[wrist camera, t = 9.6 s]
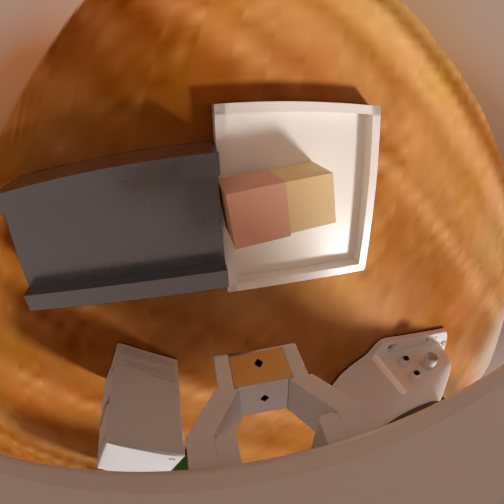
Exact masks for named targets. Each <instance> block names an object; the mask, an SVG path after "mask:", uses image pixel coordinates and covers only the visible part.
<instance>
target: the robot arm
mask: <svg viewBox="0 0 504 504" xmlns="http://www.w3.org/2000/svg"><path fill="white" fill-rule="evenodd" d="M446 342H447V332H446V330H445V329H444V328H441V329H435V330H430V331H424V332H419V333H413V334H407V335H400V336H394V337H387V338H383V339H381V340H379V341H378V342H377V343H376V344H375V345H374V346H373V347H372V348H371V350H370V351H369V352H368V353H367V354H366V355H365V356H363V357H362V358H361V359H359V360H358V361H357V362H355V363H354V364H352V365H351V366H350V367H349V368H348V369H346V370H345V371H344V372H343V373H342V374H341V375H340V376H339V377H338V379H337V380H336V381H335V382H334V384H333V386H331V385H330V384H328V383H327V382H325V381H323V380H322V379H320V378H318V377H317V376H315V375H314V374H308V372H307V370H306V367H305V365H304V363H303V360H302V358H301V356H300V353H299V351H298V349H297V346H296V344H295V343H291V344H286V345H281V346H275V347H270V348H264V349H259V350H254V351H248V352H241V353H233V354H227V355H218V356H214V364H215V371H216V378H217V385H218V391H215V392H214V393H213V395H212V396H211V398H210V400H209V401H208V403H207V405H206V406H205V408H204V410H203V411H202V413H201V415H200V416H199V418H198V419H197V421H196V423H195V424H194V426H193V428H192V429H191V431H190V432H189V434H188V436H187V437H186V445H187V458H188V469H189V470H178V471H154V472H126V471H102V470H88V469H78V468H69V467H61V466H54V465H47V464H41V463H36V462H30V461H25V460H20V459H16V458H11V457H7V456H3V455H0V504H504V365H502V366H501V367H499V368H498V369H496V370H495V371H493V372H491V373H490V374H488V375H486V376H485V377H483V378H482V379H480V380H478V381H476V382H475V383H473V384H471V385H469V386H468V387H466V388H464V389H462V390H460V391H458V392H457V393H455V394H453V395H451V396H449V397H447V398H445V399H443V400H441V398H442V395H443V393H444V390H445V387H446V384H447V381H448V378H449V374H450V370H451V364H450V361H449V358H448V356H447V355H446V353H445V351H444V348H445V345H446ZM287 407H288V409H289V410H290V411H291V412H292V413H294V414H295V415H296V416H297V417H298V418H299V419H301V420H302V421H303V422H304V423H306V424H307V425H308V426H309V427H310V428H312V429H313V430H314V431H315V432H316V433H315V437H314V441H313V444H312V448H311V449H310V450H306V451H302V452H298V453H294V454H290V455H285V456H281V457H276V458H271V459H266V460H260V461H255V462H249V463H243V464H242V461H241V457H240V452H239V448H238V443H237V438H236V436H235V434H236V432H237V430H238V428H239V425H240V423H241V421H242V418H243V416H245V415H250V414H255V413H260V412H265V411H271V410H276V409H282V408H287Z"/></svg>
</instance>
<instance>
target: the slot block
mask: <svg viewBox="0 0 504 504" xmlns="http://www.w3.org/2000/svg"><path fill="white" fill-rule="evenodd" d="M218 176H220V163H219V152H218V151H217V149H216V148H215V146H214V145H213V143H212V142H211V141H207V142H197V143H188V144H180V145H172V146H164V147H157V148H151V149H144V150H138V151H132V152H126V153H120V154H115V155H109V156H104V157H99V158H94V159H89V160H84V161H80V162H75V163H71V164H66V165H62V166H58V167H54V168H50V169H46V170H42V171H38V172H34V173H31V174H27V175H24V176H20V177H18V178H17V179H15V180H14V181H12V182H11V183H9V184H8V185H6V186H4V187H3V188H1V189H0V215H1V214H5V218H6V221H7V225H8V228H9V231H10V234H11V237H12V240H13V243H14V246H15V249H16V252H17V255H18V258H19V260H20V263H21V266H22V268H23V271H24V274H25V276H26V279H27V281H28V284H29V288H28V289H27V291H26V293H25V294H24V299H25V301H26V303H27V305H28V307H29V309H30V311H35V310H46V309H56V308H66V307H76V306H85V305H95V304H104V303H112V302H121V301H129V300H138V299H146V298H154V297H162V296H170V295H177V294H185V293H192V292H200V291H207V290H214V289H221V288H228V287H229V279H228V269H227V266H226V262H225V256H224V244H223V232H222V220H221V208H220V194H219V181H218Z"/></svg>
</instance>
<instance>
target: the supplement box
mask: <svg viewBox="0 0 504 504" xmlns="http://www.w3.org/2000/svg"><path fill="white" fill-rule="evenodd" d="M184 457H185V450H184V440H183V430H182V418H181V406H180V392H179V375H178V360H176V359H173V358H169V357H166V356H162V355H158V354H155V353H152V352H148V351H145V350H142V349H138V348H135V347H131V346H129V345H125V344H122V343H118V344H117V347H116V351H115V355H114V358H113V361H112V364H111V367H110V370H109V373H108V375H107V378H106V382H105V389H104V396H103V404H102V412H101V421H100V433H99V446H98V462H97V468H100V469H104V470H108V471H126V472H154V471H171V470H172V469H174V467H175V466H176V465H177V464H178V463H179V462H180V461H181V460H182V459H183V458H184Z"/></svg>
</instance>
